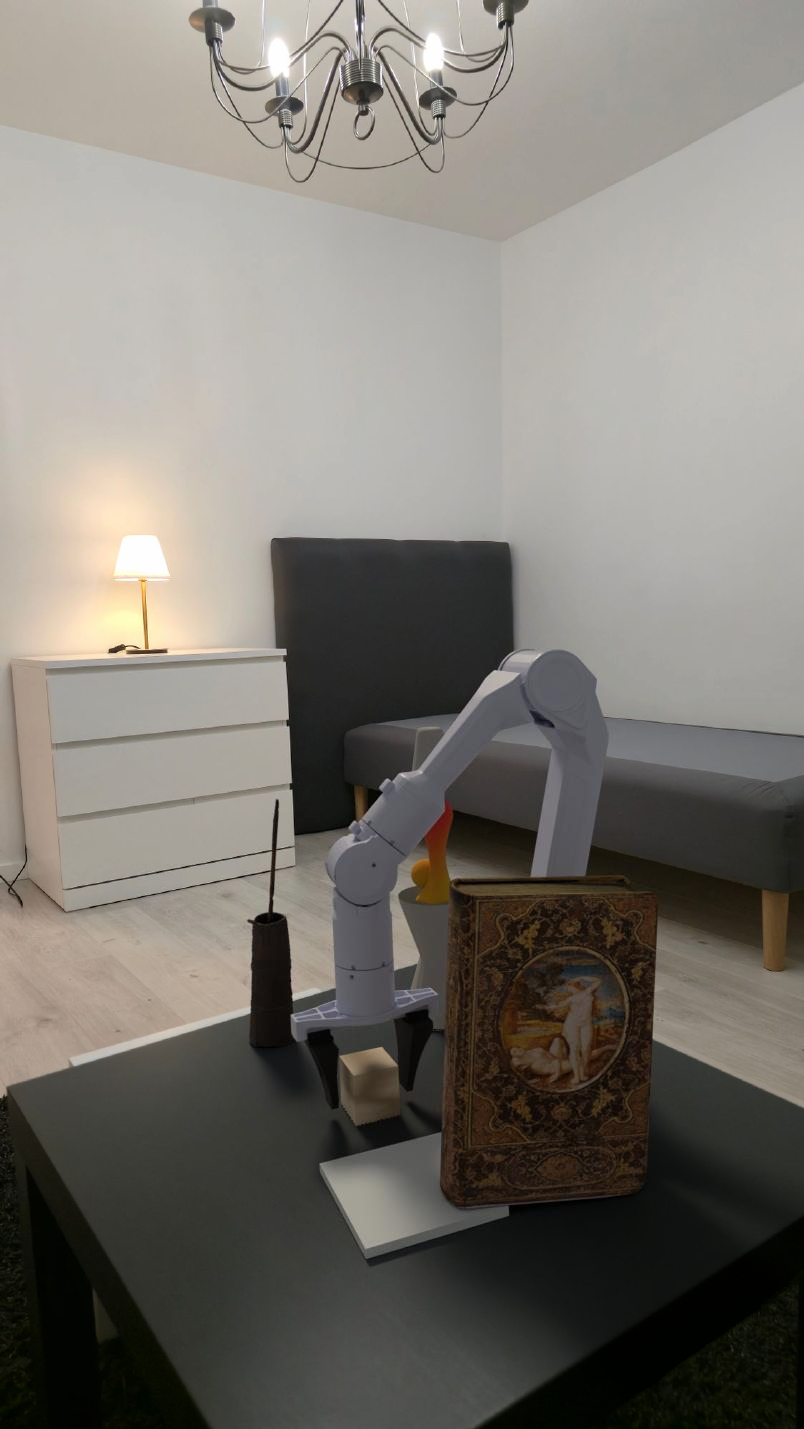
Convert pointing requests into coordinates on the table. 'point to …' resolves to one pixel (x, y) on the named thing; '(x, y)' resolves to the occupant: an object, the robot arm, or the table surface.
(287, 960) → the butter churn
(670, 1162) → the table surface
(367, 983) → the robot arm
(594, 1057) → the book
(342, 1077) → the birch block
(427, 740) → the lava lamp
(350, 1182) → the pad
